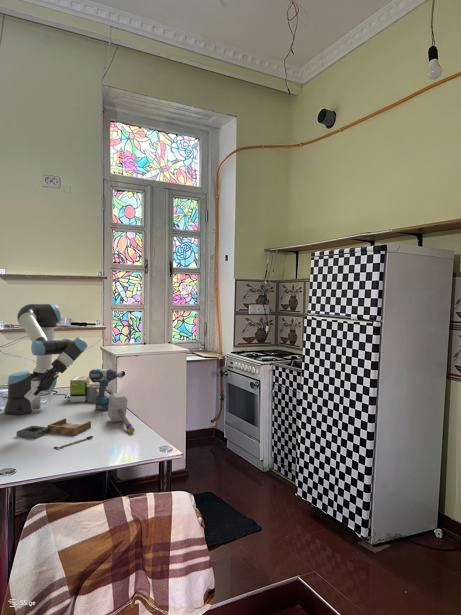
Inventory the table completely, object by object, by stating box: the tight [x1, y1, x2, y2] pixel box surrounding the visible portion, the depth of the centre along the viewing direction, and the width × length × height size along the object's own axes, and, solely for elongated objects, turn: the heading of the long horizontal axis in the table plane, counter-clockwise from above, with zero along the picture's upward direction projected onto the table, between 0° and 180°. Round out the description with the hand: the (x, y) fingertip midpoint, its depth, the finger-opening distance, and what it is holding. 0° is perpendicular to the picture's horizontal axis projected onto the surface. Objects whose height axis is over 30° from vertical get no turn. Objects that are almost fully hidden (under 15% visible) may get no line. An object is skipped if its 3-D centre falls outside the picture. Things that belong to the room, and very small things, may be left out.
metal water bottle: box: [30, 378, 42, 411], centre depth 217 cm, size 4×4×15 cm
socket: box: [16, 425, 50, 440], centre depth 217 cm, size 11×11×2 cm
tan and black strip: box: [53, 435, 94, 451], centre depth 205 cm, size 21×7×1 cm, turn 146°
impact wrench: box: [88, 368, 124, 411], centre depth 271 cm, size 8×23×25 cm, turn 78°
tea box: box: [69, 375, 91, 403], centre depth 295 cm, size 15×10×15 cm
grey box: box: [86, 383, 100, 403], centre depth 291 cm, size 13×10×10 cm
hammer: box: [107, 392, 135, 434], centre depth 234 cm, size 15×8×30 cm
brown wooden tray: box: [46, 417, 92, 436], centre depth 226 cm, size 16×14×4 cm
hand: (27, 398), depth 215 cm, fingers closed on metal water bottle, 4 cm apart
